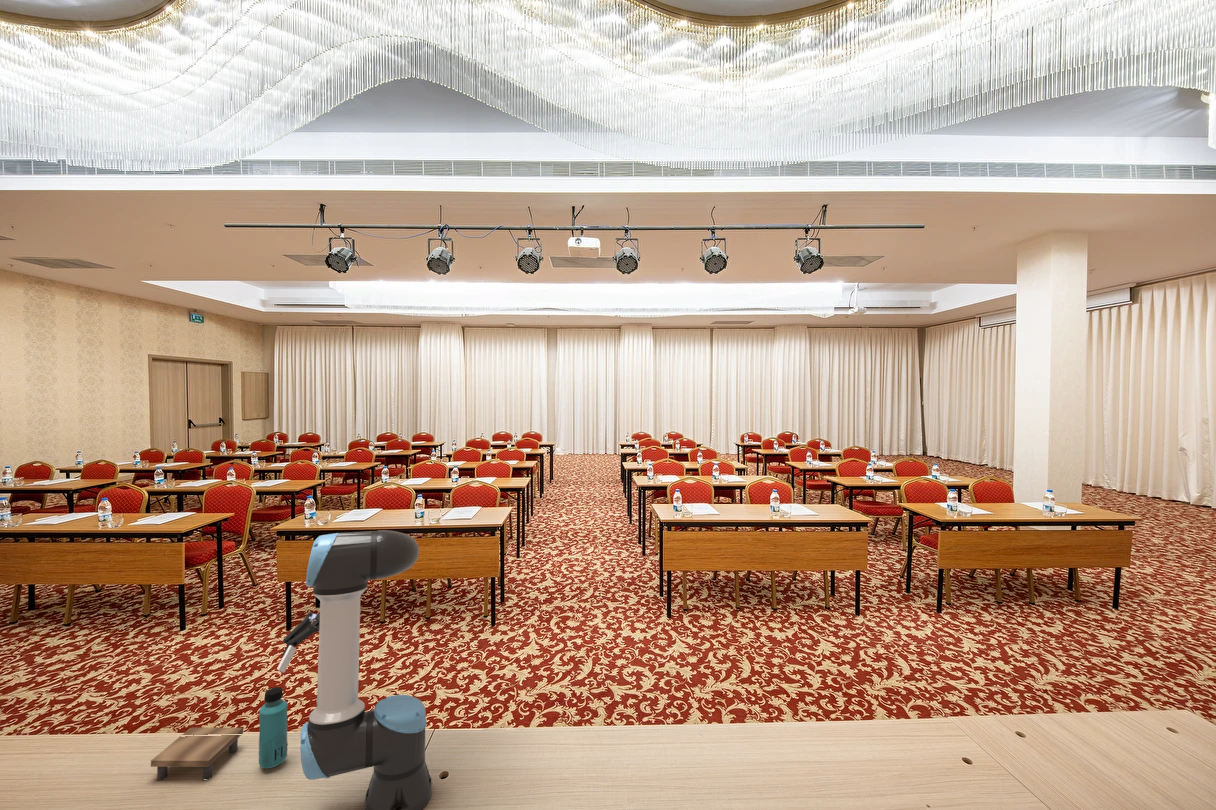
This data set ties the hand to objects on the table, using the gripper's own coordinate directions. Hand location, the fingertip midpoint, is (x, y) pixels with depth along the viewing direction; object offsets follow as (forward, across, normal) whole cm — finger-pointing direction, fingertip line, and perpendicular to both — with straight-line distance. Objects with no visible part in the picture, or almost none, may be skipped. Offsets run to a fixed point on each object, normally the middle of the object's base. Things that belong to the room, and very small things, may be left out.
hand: (301, 673), depth 147 cm
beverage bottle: (+21, 0, -6) cm, 22 cm away
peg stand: (+23, +19, -4) cm, 30 cm away
